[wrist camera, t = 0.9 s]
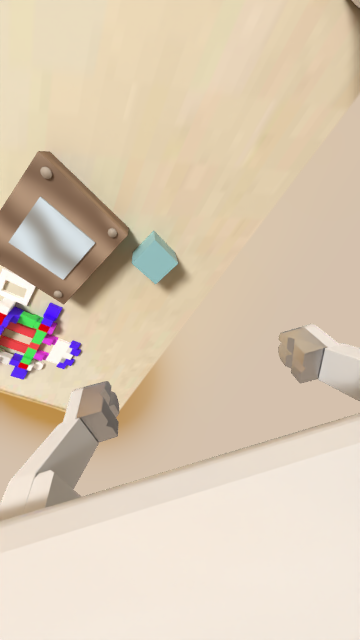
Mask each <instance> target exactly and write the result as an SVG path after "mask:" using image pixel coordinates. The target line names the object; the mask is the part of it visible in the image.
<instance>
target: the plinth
mask: <svg viewBox="0 0 360 640" xmlns="http://www.w3.org/2000/svg"><path fill="white" fill-rule="evenodd" d="M128 230H129V228H128V227H127V226H126V225H125V224H124V223H123V222H122V221H121V220H120V219H119V218H118V217H117V216H116V215H115V214H114V213H113V212H112V211H111V210H110V209H109V208H108V207H107V206H106V205H105V204H104V203H103V202H101V201H100V200H99V199H98V198H97V197H96V196H95V195H94V194H93V193H92V192H91V191H90V190H89V189H88V188H87V187H86V186H85V185H84V184H83V183H82V182H81V181H80V180H79V179H78V178H77V177H76V176H75V175H74V174H72V173H71V172H70V171H69V170H68V169H67V168H66V167H65V166H64V165H63V164H62V163H61V162H60V161H59V160H58V159H57V158H56V157H55V156H54V155H53V154H52V153H51V152H45V151H38V152H37V154H36V156H35V157H34V159H33V160H32V162H31V163H30V165H29V167H28V168H27V170H26V171H25V173H24V174H23V176H22V177H21V179H20V181H19V182H18V184H17V185H16V187H15V188H14V190H13V192H12V193H11V195H10V196H9V198H8V199H7V201H6V203H5V204H4V206H3V207H2V209H1V210H0V265H2V266H3V267H5V268H7V269H8V270H10V271H11V272H13V273H15V274H16V275H18V276H19V277H21V278H23V279H24V280H26V281H27V282H29V283H31V284H32V285H34V286H35V287H37V288H38V289H40V290H42V291H43V292H45V293H46V294H48V295H50V296H51V297H53V298H54V299H56V300H58V301H59V302H61V303H62V304H65V303H66V302H67V300H68V299H69V298H70V297H71V296H72V295H73V294H74V293H75V292H76V291H77V290H78V289H79V287H80V286H81V285H82V284H83V283H84V282H85V281H86V280H87V279H88V278H89V277H90V275H91V274H92V273H93V272H94V271H95V270H96V269H97V268H98V267H99V266H100V265H101V263H102V262H103V261H104V260H105V259H106V258H107V257H108V256H109V255H110V254H111V253H112V252H113V250H114V249H115V248H116V247H117V246H118V245H119V244H120V243H121V242H122V241H123V240H124V238H125V237H126V236H127V235H128Z"/></svg>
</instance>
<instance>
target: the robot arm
mask: <svg viewBox="0 0 360 640" xmlns="http://www.w3.org/2000/svg"><path fill="white" fill-rule="evenodd" d="M352 1H353V3H354V4H355V5H356V6H358V7H359V8H360V0H352ZM279 340H280V341H281V344H280V346H279V347H278V352H279V356H280V359H281V360H282V362H283V363H284V365H285V366H287V367H289V368H291V373H292V374H293V376H294V377H295V378H296V379H297V380H298V381H299V383H304V382H308V381H312V380H315V379H318V380H320V381H322V382H324V383H326V384H328V385H329V386H332V387H333V388H335V389H338V390H339V391H341V392H343V393H345V394H347V395H349V396H351V397H352V398H354V399H356V400H358V401H360V348H358V347H354V346H351V345H347V344H344V343H343V344H339V343H338V342H336V341H335V340H334V339H332V338H331V337H330V336H329V335H327V334H326V333H325V332H323V331H322V330H321V329H320V328H318V327H317V326H316V325H314V324H309V325H306V326H302V327H299V328H296V329H292V330H289V331H285V332H282V333H280V335H279ZM118 414H119V403H118V399H117V396H116V394H115V393H114V392H112V391H111V385H110V383H109V382H108V381H106V382H102V383H98V384H94V385H90V386H86V387H83V388H79V389H75V390H73V391H72V393H71V396H70V399H69V403H68V406H67V410H66V413H65V417H64V420H63V423H61V424H59V425H58V426H57V427H56V428H55V429H54V430H53V432H52V433H51V434H50V435H49V436H48V437H47V439H46V440H45V441H44V442H43V443H42V444H41V446H40V447H39V448H38V449H37V450H36V451H35V452H34V453H33V455H32V456H31V457H30V458H29V459H28V461H27V462H26V463H25V464H24V465H23V466H22V467H21V468H20V470H19V471H18V472H17V473H16V474H15V475H14V477H13V478H12V479H11V480H10V481H9V484H8V486H7V489H6V492H5V494H4V496H3V499H2V501H1V504H0V640H360V413H358V414H355V415H352V416H349V417H345V418H342V419H338V420H336V421H332V422H328V423H325V424H322V425H318V426H315V427H312V428H309V429H305V430H302V431H298V432H295V433H292V434H289V435H285V436H282V437H279V438H276V439H272V440H269V441H266V442H262V443H259V444H255V445H252V446H249V447H246V448H242V449H239V450H235V451H232V452H229V453H225V454H222V455H219V456H216V457H212V458H209V459H206V460H202V461H199V462H196V463H192V464H189V465H186V466H183V467H180V468H176V469H172V470H169V471H166V472H162V473H159V474H156V475H153V476H149V477H146V478H143V479H139V480H136V481H133V482H130V483H126V484H123V485H119V486H116V487H113V488H109V489H106V490H103V491H99V492H96V493H93V494H89V495H86V496H83V497H81V496H80V495H79V494H78V493H77V492H76V491H74V490H73V489H74V487H75V485H76V484H77V482H78V480H79V478H80V476H81V475H82V473H83V471H84V469H85V467H86V466H87V464H88V462H89V460H90V458H91V457H92V455H93V453H94V451H95V449H96V447H97V446H98V443H99V442H102V441H105V440H108V439H111V438H114V437H117V436H118V421H117V419H116V417H117V416H118Z"/></svg>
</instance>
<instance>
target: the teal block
mask: <svg viewBox="0 0 360 640" xmlns="http://www.w3.org/2000/svg"><path fill="white" fill-rule="evenodd" d="M132 264H133V265H134V266H135V267H136V268H138V269H139V270H140V271H141V272H142V273H143V274H144V275H146V276H147V277H148V278H149V279H150V280H151V281H153V282H154V283H155V284H157V283H158V282H159V281H160V280H161V279H162V278H163V277H164V276H165V275H166V274H167V273H168V272H170V271H171V270H172V269H173V268H174V267H175V266H176V265H177V264H178V261H177V258H176V254H175V252H174V251H173V250H172V249H171V248H170V247H169V246H168V245H167V244H166V243H165V242H164V241H163V240H162V239H161V238H160V237H159V235H158V234H157V233H156V232H155V231H153V232H152V233H151V234H150V235H149V236H148V237H147V238H146V239H145V240H144V241H143V242H142V243H141V244H140V245H139V246H138V248H137V249H136V250H135V251H134V252H133V257H132Z"/></svg>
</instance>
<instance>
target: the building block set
mask: <svg viewBox="0 0 360 640" xmlns="http://www.w3.org/2000/svg"><path fill="white" fill-rule="evenodd" d="M6 280H7V281H9V282H12V283H14V284H16V285H18V286H20V287H23V288H25V289H27V292H26V294H25V296H24V298H22V297H20V296H18V295H16V294H13V293H11V292H9V291H6V290H4V289H3V287H4V285H5V282H6ZM35 288H36V287H35V286H34V285H32V284H31V283H29V282H27V281H26V280H24V279H23V278H21V277H19V276H18V275H16V274H15V273H13V272H11V271H10V270H8V269H7V268H5V267H4V268H3V269H2V272H1V274H0V295H2V296H4V299H3V300H2V301H0V345H2V346H5V347H8V348H11V349H14V350H17V351H20V352H22V353H25V354H24V356H22V355H19V354H16V353H15V354H14V356H13V354H10V353H7V352H5V350H3V349H0V362H1V363H4V364H7V365H8V364H11V365H14V366H15V368H14V370H13V372H12V374H11V376H13V377H16V378H20V379H24V378H25V376H26V374H27V372H28V370H29V371H31V369H32V367H33V368H34V369H36V370H41V369H42V367H43V365H44V362H42V359H43V360H46V361H49V362H52V363H55V364H57V366H56V367H59V368H62V369H64V368H65V367H66V365H70V366H71V365H72V363H73V362H74V360H75V359H72V356H73V355H74V356H78V355H79V353H80V352H81V350H80V349H78V348H79V346H80V344H81V343H78V342H76V341H72V342H71V343H70V342H68V341H65V340H63V339H60V338H58V337H55V336H52V335H50V334H52V333H53V331H54V329H55V327H56V325H57V323H54V322H53V321H56V319H57V317H58V315H59V314H60V312H61V310H62V307H59V306H57V305H55V304H53V303H51V302H50V304H49V306H48V308H47V310H46V312H45V314H44V315H43V317H44V318H42V317H40V316H38V315H32V314H30V313H28V312H25V311H24V310H22V309H19V308H17V307H14V306H15V304H16V302H18V303H20V304H23V305H25V306H27V304H28V302H29V300H30V298H31V296H32V294H33V292H34V290H35ZM5 328H7V329H9V330H12V331H15V332H17V333H20V334H23V335H25V336H28V337H31V338H33V339H32V341H31V343H30V345H28V344H25V343H22V342H19V341H16V340H14V339H11V338H8V337H5V336H2V333H3V331H4V329H5ZM49 328H50V329H49ZM48 330H49V331H48ZM47 332H48V334H47ZM41 343H45V344H47V345H51V344H53V345H54V347H53V348H52V350H51V352H50V353H47V352H44V351H41V350H39V349H38V348H39V346H40V344H41ZM33 358H34V359H37V360H38V361H36V360H33ZM31 360H32V361H31ZM30 362H31V363H30ZM40 362H41V363H40Z"/></svg>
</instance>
